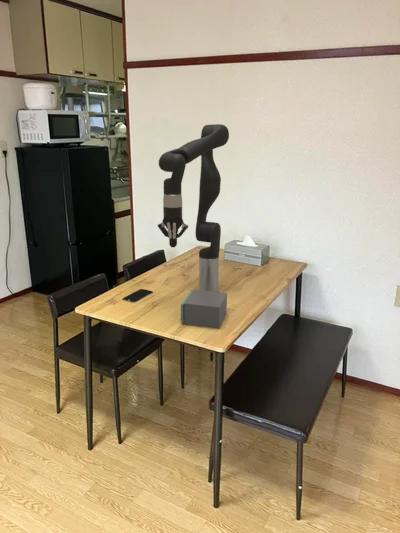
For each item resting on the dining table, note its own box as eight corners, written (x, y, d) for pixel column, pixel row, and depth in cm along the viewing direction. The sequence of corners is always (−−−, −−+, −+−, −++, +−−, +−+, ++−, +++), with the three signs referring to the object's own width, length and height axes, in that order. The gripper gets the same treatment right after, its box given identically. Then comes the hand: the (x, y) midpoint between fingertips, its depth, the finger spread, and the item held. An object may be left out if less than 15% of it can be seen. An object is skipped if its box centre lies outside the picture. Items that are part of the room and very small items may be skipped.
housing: (194, 309, 184) (194, 289, 181) (226, 313, 181) (227, 293, 178) (184, 324, 170) (184, 303, 167) (219, 328, 167) (219, 307, 164)
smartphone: (120, 299, 194) (141, 288, 206) (120, 300, 194) (141, 289, 206) (134, 302, 190) (154, 291, 203) (134, 304, 190) (154, 292, 203)
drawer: (189, 306, 184) (189, 289, 182) (222, 309, 181) (222, 293, 179) (178, 321, 170) (178, 304, 168) (214, 325, 167) (214, 307, 165)
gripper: (153, 205, 170) (154, 248, 176) (186, 207, 167) (186, 250, 173) (160, 202, 177) (161, 243, 183) (191, 204, 174) (191, 245, 180)
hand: (173, 246), depth 178 cm, fingers closed
